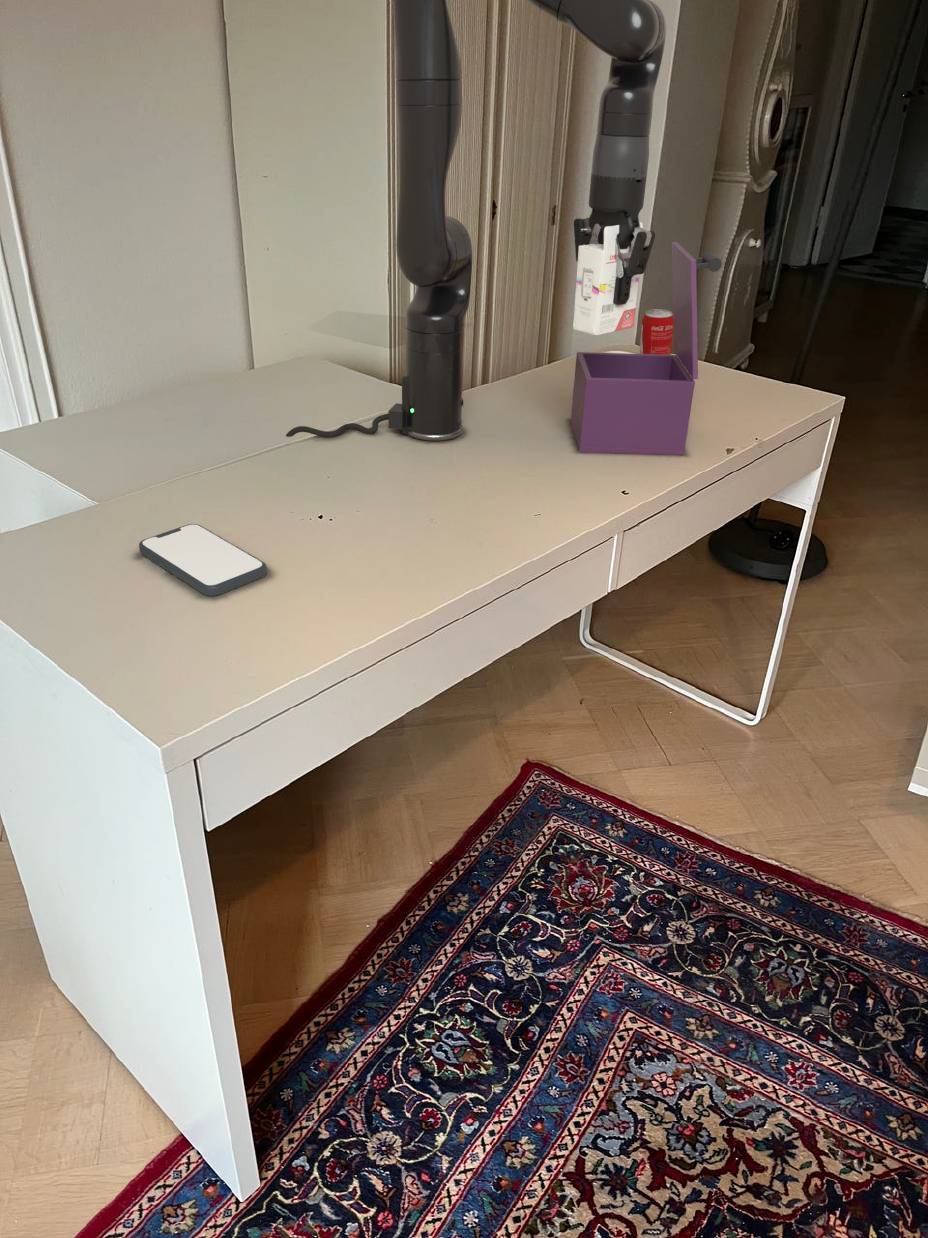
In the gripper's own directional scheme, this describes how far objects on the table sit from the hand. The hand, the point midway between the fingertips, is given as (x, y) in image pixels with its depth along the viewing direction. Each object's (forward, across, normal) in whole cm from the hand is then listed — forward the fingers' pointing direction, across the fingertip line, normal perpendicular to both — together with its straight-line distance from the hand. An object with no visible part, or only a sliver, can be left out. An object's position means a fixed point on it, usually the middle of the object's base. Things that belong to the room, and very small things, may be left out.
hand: (605, 299), depth 139 cm
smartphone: (+25, -1, -65) cm, 70 cm away
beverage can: (+24, -18, +34) cm, 45 cm away
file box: (+24, -3, +12) cm, 27 cm away
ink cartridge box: (+4, 0, 0) cm, 4 cm away
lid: (+3, +1, +17) cm, 17 cm away
